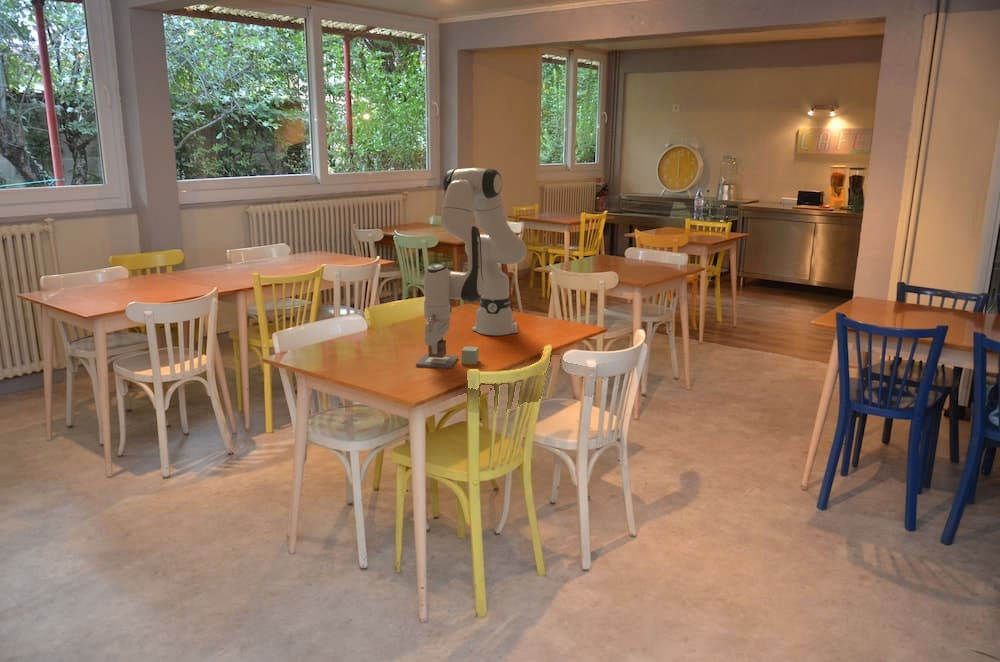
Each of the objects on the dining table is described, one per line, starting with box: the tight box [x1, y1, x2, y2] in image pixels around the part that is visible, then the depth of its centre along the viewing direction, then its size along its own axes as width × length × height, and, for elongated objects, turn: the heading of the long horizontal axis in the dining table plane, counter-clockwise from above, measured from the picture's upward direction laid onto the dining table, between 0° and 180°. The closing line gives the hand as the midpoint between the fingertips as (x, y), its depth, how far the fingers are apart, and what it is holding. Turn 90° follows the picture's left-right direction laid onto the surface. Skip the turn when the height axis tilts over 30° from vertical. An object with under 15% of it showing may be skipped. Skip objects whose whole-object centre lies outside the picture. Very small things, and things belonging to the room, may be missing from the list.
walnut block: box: [427, 339, 447, 358], centre depth 271 cm, size 5×5×5 cm
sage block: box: [461, 346, 480, 365], centre depth 273 cm, size 5×5×5 cm
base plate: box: [415, 353, 459, 369], centre depth 272 cm, size 12×12×1 cm
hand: (437, 351), depth 271 cm, fingers closed on walnut block, 5 cm apart
